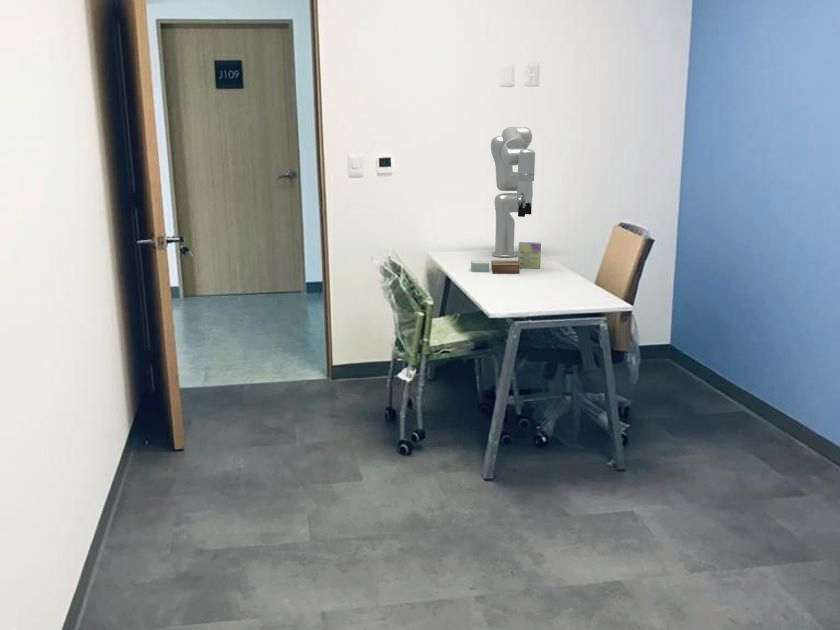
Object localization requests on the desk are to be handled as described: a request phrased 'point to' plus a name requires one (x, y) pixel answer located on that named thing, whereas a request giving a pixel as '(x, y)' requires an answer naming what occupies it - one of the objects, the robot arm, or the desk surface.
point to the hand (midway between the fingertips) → (524, 215)
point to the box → (529, 254)
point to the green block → (479, 266)
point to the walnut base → (505, 267)
